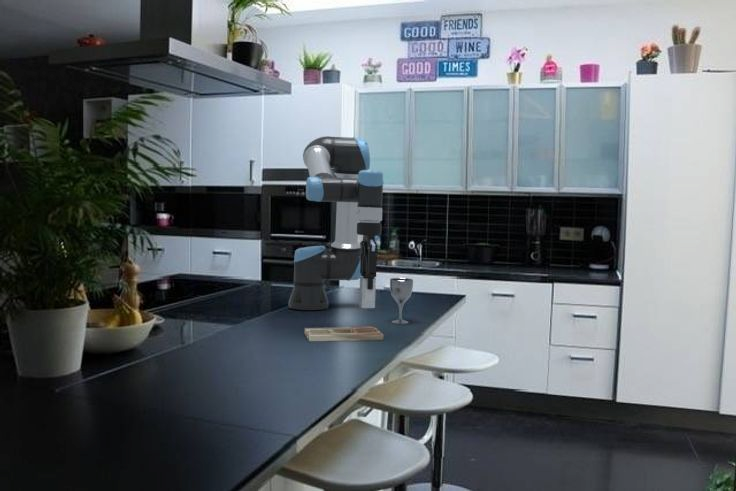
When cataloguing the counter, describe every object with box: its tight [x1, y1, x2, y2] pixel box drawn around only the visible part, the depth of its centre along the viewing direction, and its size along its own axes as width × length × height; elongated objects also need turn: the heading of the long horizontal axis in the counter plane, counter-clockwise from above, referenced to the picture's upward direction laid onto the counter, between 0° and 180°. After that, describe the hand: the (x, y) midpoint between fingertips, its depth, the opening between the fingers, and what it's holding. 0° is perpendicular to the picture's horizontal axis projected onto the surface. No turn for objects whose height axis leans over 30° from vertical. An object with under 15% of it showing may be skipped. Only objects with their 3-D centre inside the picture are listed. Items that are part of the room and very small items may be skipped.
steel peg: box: [358, 276, 377, 309], centre depth 189 cm, size 4×4×9 cm
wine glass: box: [389, 277, 414, 325], centre depth 214 cm, size 8×8×15 cm
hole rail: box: [304, 326, 384, 342], centre depth 188 cm, size 12×22×2 cm, turn 103°
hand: (367, 298), depth 189 cm, fingers closed on steel peg, 4 cm apart
